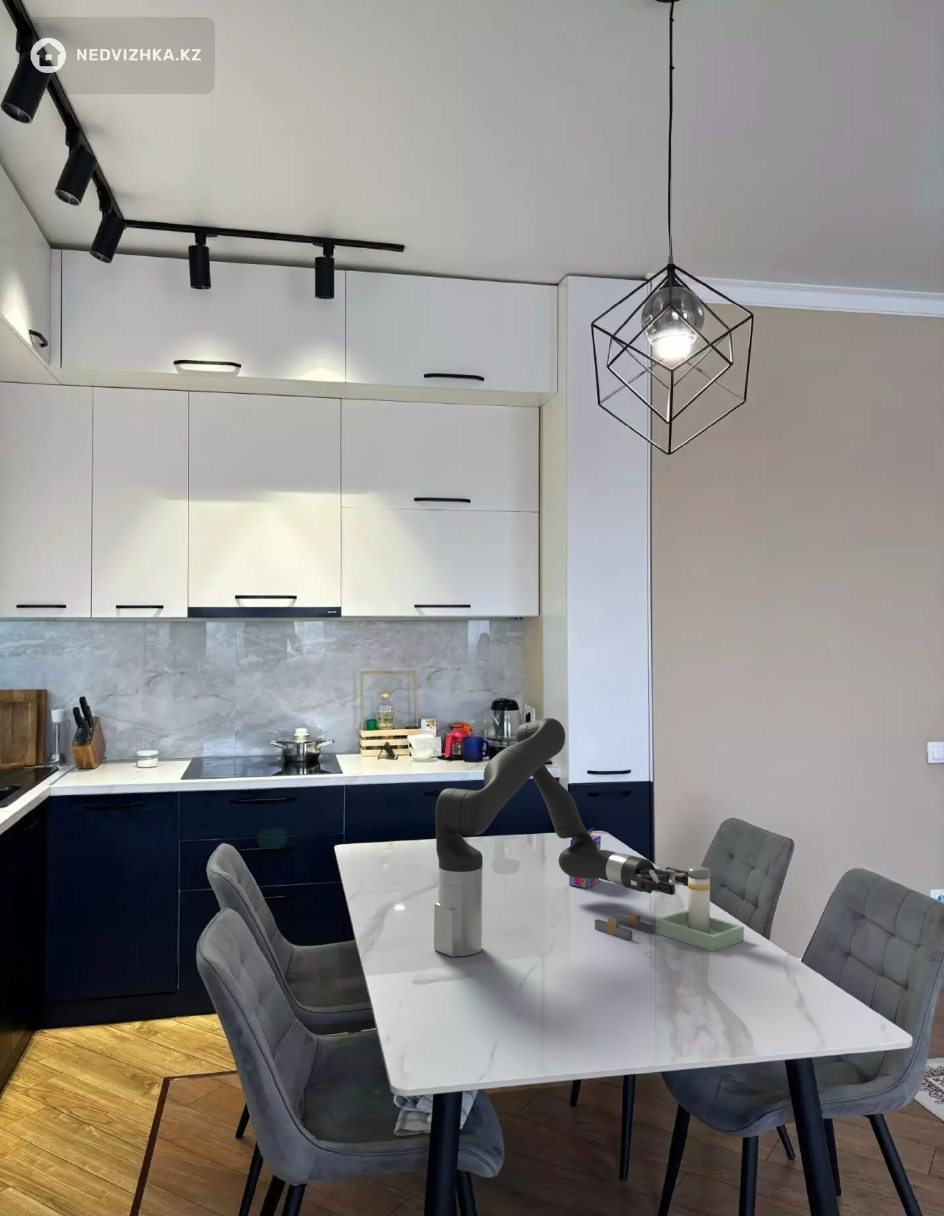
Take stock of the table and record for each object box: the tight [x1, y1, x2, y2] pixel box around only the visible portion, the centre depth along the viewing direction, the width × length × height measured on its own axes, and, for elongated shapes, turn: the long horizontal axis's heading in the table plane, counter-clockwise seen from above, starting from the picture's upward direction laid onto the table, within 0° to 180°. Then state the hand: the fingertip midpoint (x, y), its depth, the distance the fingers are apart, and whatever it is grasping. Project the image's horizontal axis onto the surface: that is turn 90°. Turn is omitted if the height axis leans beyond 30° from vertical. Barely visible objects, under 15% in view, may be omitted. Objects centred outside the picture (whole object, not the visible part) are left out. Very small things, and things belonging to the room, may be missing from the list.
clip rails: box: [594, 912, 654, 941], centre depth 204 cm, size 8×10×3 cm
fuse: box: [687, 865, 711, 934], centre depth 201 cm, size 5×5×14 cm
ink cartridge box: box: [568, 827, 602, 889], centre depth 243 cm, size 10×6×14 cm, turn 152°
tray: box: [655, 909, 745, 953], centre depth 200 cm, size 11×15×3 cm
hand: (686, 887), depth 203 cm, fingers open, 8 cm apart
